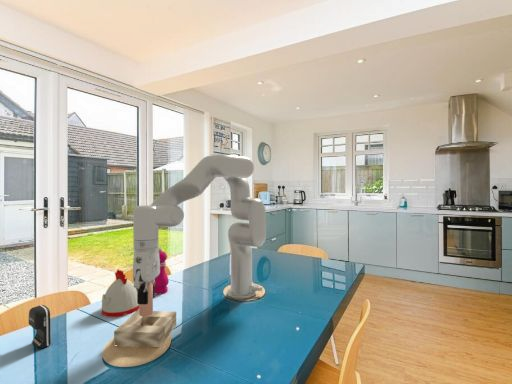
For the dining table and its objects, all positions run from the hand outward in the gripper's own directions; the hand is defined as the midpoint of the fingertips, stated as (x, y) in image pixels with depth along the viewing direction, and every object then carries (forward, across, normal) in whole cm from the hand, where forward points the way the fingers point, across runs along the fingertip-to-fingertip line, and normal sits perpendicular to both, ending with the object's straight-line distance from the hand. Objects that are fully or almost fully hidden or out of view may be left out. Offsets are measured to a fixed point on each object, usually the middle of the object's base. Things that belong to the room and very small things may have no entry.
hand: (146, 300), depth 91 cm
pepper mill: (+11, +36, +11) cm, 40 cm away
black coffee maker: (+12, -8, +30) cm, 33 cm away
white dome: (+11, +18, +19) cm, 29 cm away
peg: (+4, 0, 0) cm, 4 cm away
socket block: (+11, 0, 0) cm, 11 cm away
